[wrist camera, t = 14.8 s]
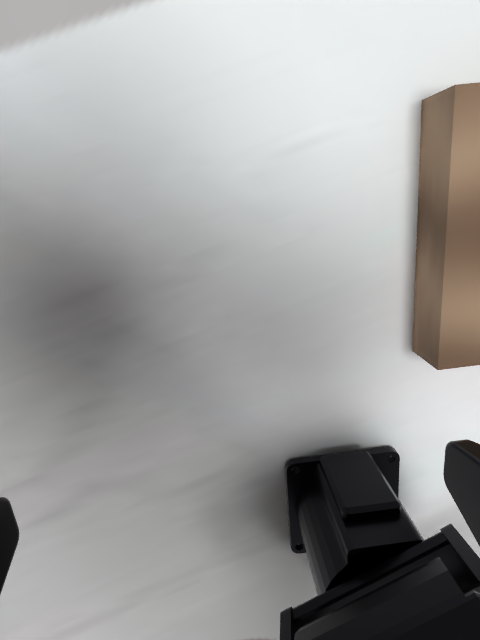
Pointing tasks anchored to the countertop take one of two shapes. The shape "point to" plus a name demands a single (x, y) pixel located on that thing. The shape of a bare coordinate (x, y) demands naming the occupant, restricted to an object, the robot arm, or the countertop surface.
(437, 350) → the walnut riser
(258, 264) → the countertop surface
